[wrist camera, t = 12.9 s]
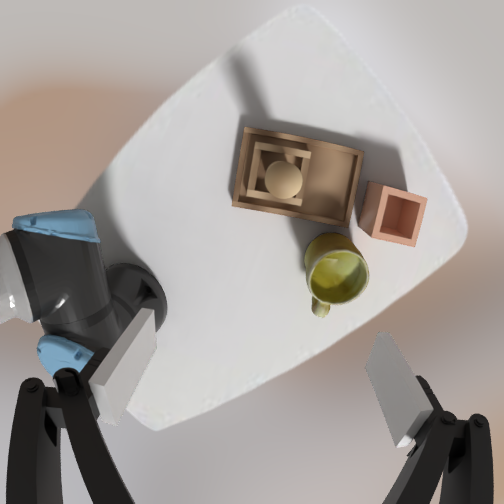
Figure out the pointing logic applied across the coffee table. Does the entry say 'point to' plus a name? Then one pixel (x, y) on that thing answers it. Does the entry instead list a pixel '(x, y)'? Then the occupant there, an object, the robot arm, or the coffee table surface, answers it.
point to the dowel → (283, 179)
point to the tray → (313, 174)
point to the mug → (334, 272)
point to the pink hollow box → (392, 214)
